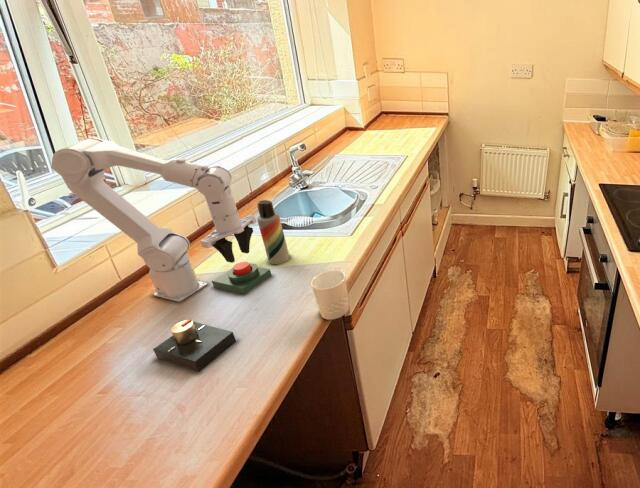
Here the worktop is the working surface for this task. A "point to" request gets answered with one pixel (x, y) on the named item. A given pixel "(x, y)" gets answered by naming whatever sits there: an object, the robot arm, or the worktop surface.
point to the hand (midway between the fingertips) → (238, 256)
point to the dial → (184, 332)
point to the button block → (242, 280)
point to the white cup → (331, 294)
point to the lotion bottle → (272, 233)
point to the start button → (241, 268)
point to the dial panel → (196, 348)
